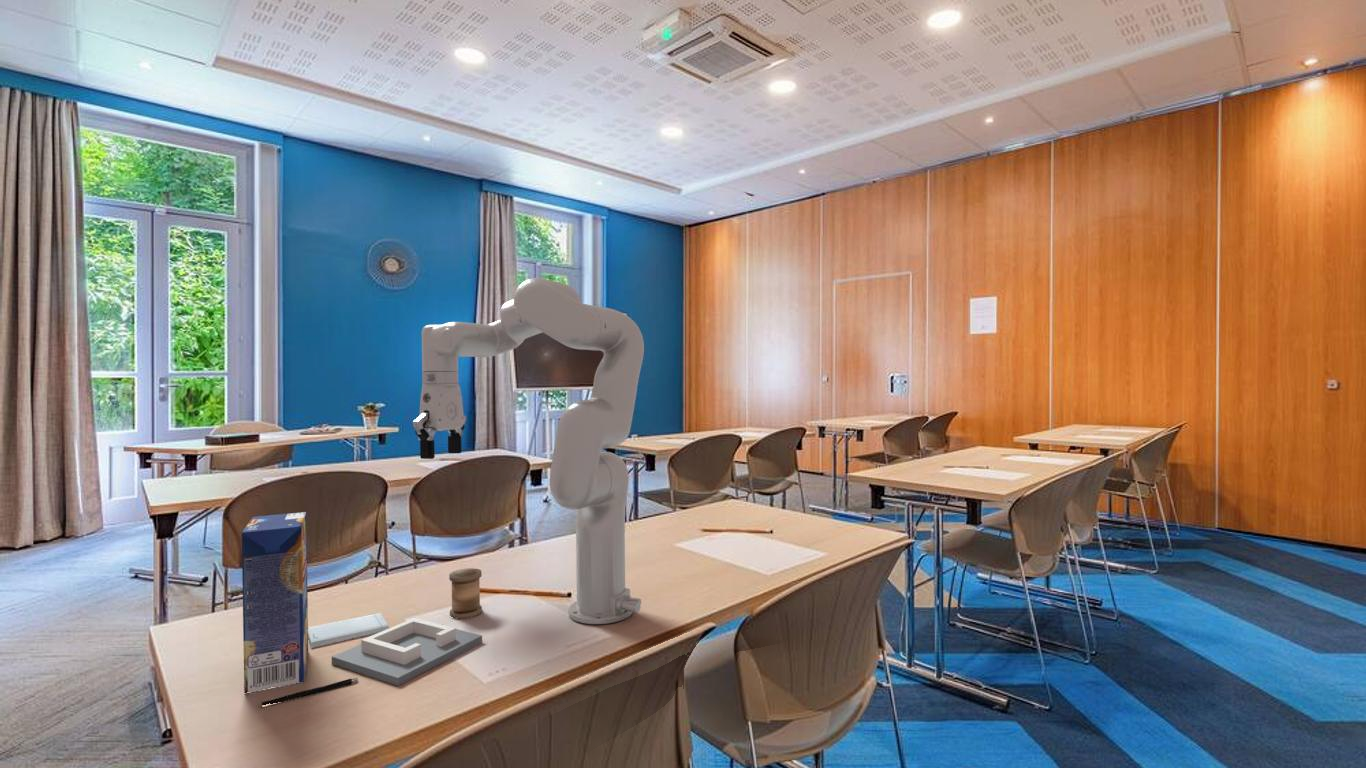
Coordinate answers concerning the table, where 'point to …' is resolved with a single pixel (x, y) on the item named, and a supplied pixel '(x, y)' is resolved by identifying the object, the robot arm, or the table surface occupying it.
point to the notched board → (406, 650)
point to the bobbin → (465, 593)
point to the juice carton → (275, 601)
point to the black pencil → (311, 691)
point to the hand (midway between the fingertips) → (441, 455)
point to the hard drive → (346, 629)
